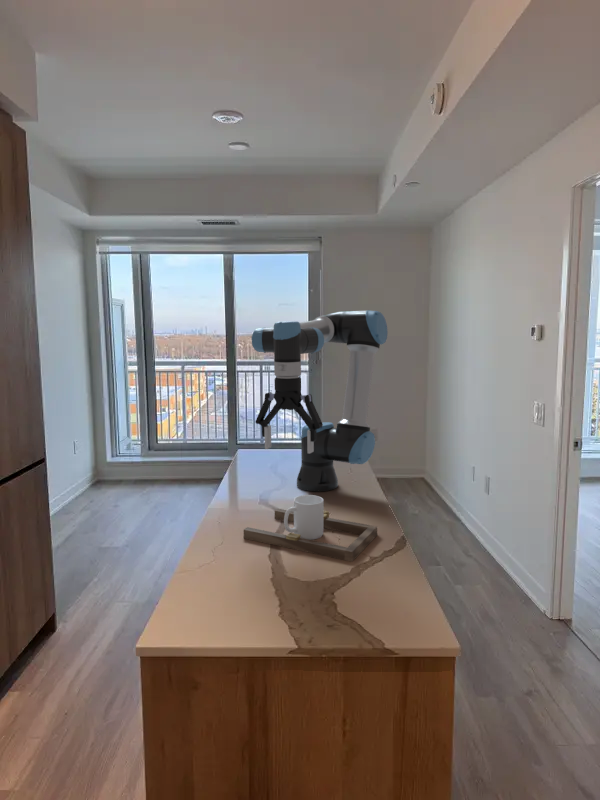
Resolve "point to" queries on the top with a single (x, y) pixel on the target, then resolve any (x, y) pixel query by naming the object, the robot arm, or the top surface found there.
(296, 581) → the top surface
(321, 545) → the track
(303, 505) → the cup
